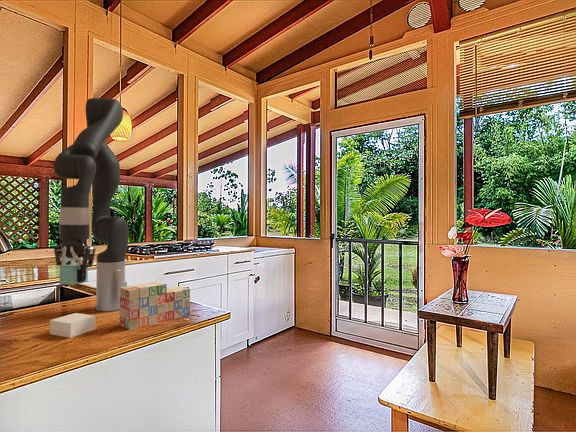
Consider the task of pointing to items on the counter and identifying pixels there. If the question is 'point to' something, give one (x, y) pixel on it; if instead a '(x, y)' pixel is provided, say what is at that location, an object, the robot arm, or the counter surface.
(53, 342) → the counter surface
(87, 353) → the counter surface
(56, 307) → the counter surface
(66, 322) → the white square block
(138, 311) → the stack of blocks
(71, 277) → the teal cube
